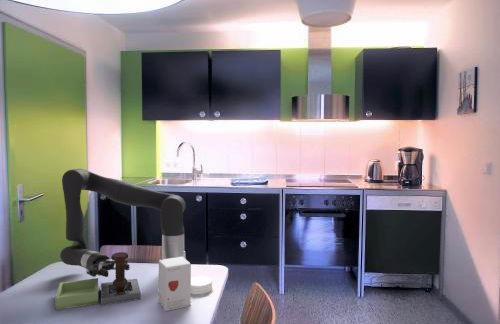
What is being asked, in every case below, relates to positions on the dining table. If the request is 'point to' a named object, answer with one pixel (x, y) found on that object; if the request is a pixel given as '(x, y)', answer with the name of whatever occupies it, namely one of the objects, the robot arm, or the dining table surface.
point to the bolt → (120, 271)
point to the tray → (77, 293)
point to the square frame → (122, 296)
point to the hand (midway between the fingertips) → (118, 270)
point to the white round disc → (200, 285)
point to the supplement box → (174, 283)
